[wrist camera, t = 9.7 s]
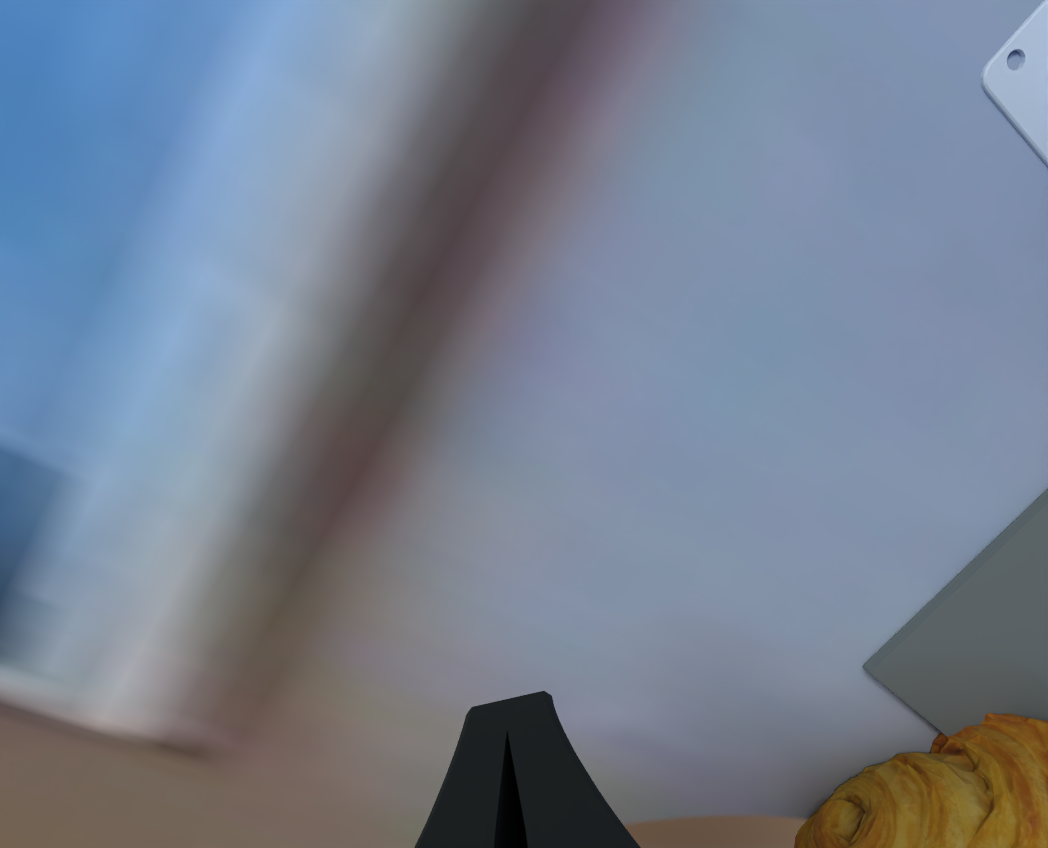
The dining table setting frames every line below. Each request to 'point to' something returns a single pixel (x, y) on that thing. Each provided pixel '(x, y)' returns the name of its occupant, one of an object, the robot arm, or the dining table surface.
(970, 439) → the dining table surface
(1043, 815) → the croissant
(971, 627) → the slate board
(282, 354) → the dining table surface
